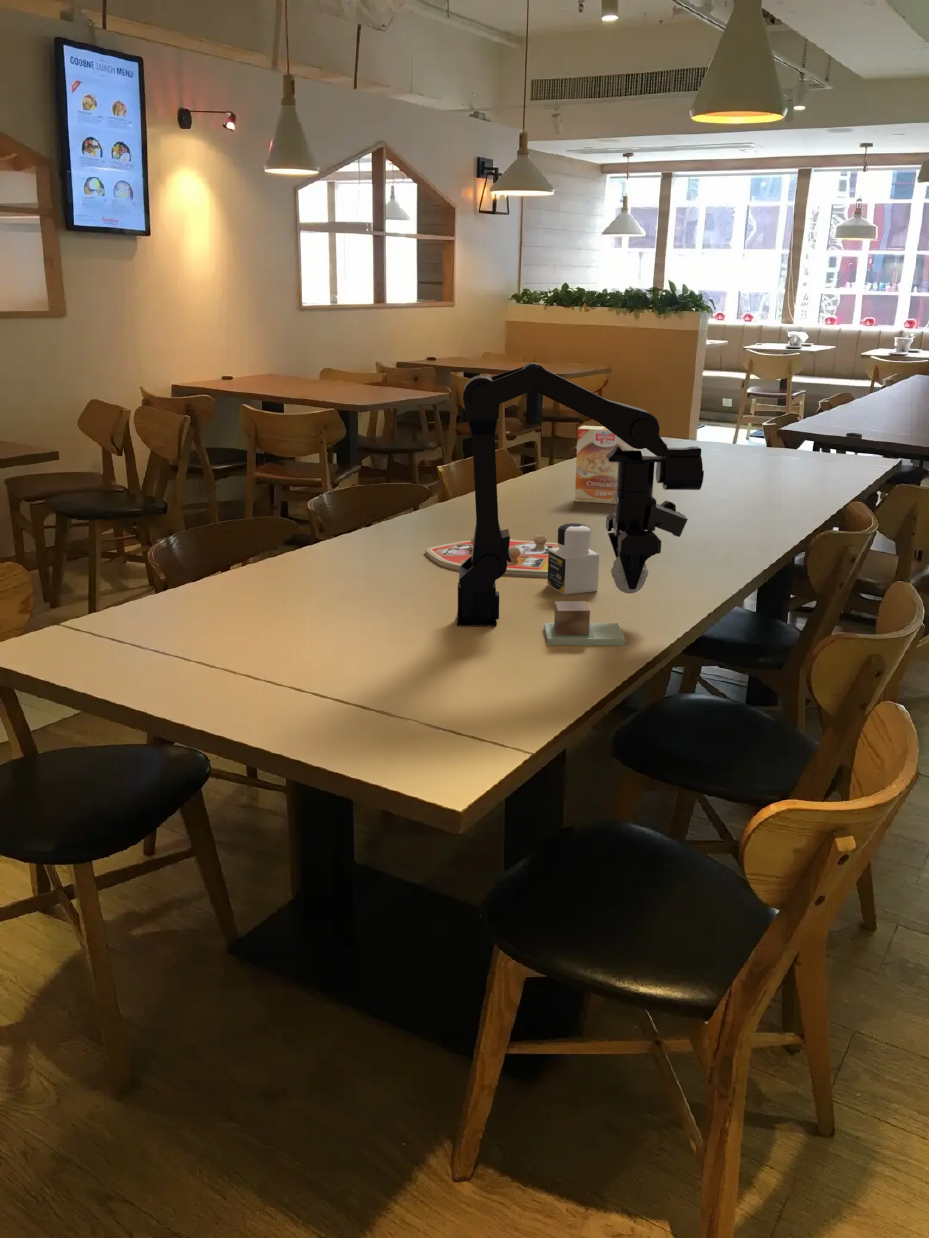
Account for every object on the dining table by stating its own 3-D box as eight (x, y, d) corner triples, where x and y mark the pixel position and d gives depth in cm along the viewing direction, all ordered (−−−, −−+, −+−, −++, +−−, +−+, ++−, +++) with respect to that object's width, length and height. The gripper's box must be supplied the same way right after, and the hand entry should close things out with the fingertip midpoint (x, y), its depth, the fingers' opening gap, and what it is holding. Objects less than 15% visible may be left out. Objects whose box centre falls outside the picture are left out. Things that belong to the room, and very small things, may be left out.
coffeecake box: (574, 501, 264) (576, 428, 258) (579, 497, 270) (581, 425, 264) (630, 505, 260) (634, 430, 254) (634, 500, 266) (638, 427, 260)
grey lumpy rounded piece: (642, 586, 167) (645, 546, 165) (651, 598, 160) (654, 556, 158) (606, 586, 167) (608, 546, 165) (614, 598, 160) (616, 556, 158)
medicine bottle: (546, 585, 186) (548, 522, 182) (580, 581, 188) (583, 520, 185) (563, 595, 180) (565, 530, 176) (598, 591, 182) (601, 527, 178)
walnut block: (557, 635, 155) (557, 610, 153) (554, 625, 159) (555, 601, 158) (588, 635, 155) (590, 610, 153) (585, 625, 159) (586, 601, 158)
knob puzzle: (555, 582, 190) (556, 560, 188) (407, 574, 196) (406, 552, 194) (572, 547, 217) (572, 527, 215) (441, 541, 223) (441, 521, 221)
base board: (547, 644, 154) (547, 638, 153) (544, 628, 161) (544, 622, 161) (624, 645, 154) (625, 638, 153) (617, 628, 161) (617, 622, 161)
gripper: (697, 501, 149) (690, 599, 154) (673, 479, 167) (667, 569, 172) (624, 500, 149) (618, 599, 154) (607, 479, 167) (603, 568, 172)
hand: (629, 583), depth 163 cm, fingers closed on grey lumpy rounded piece, 7 cm apart
